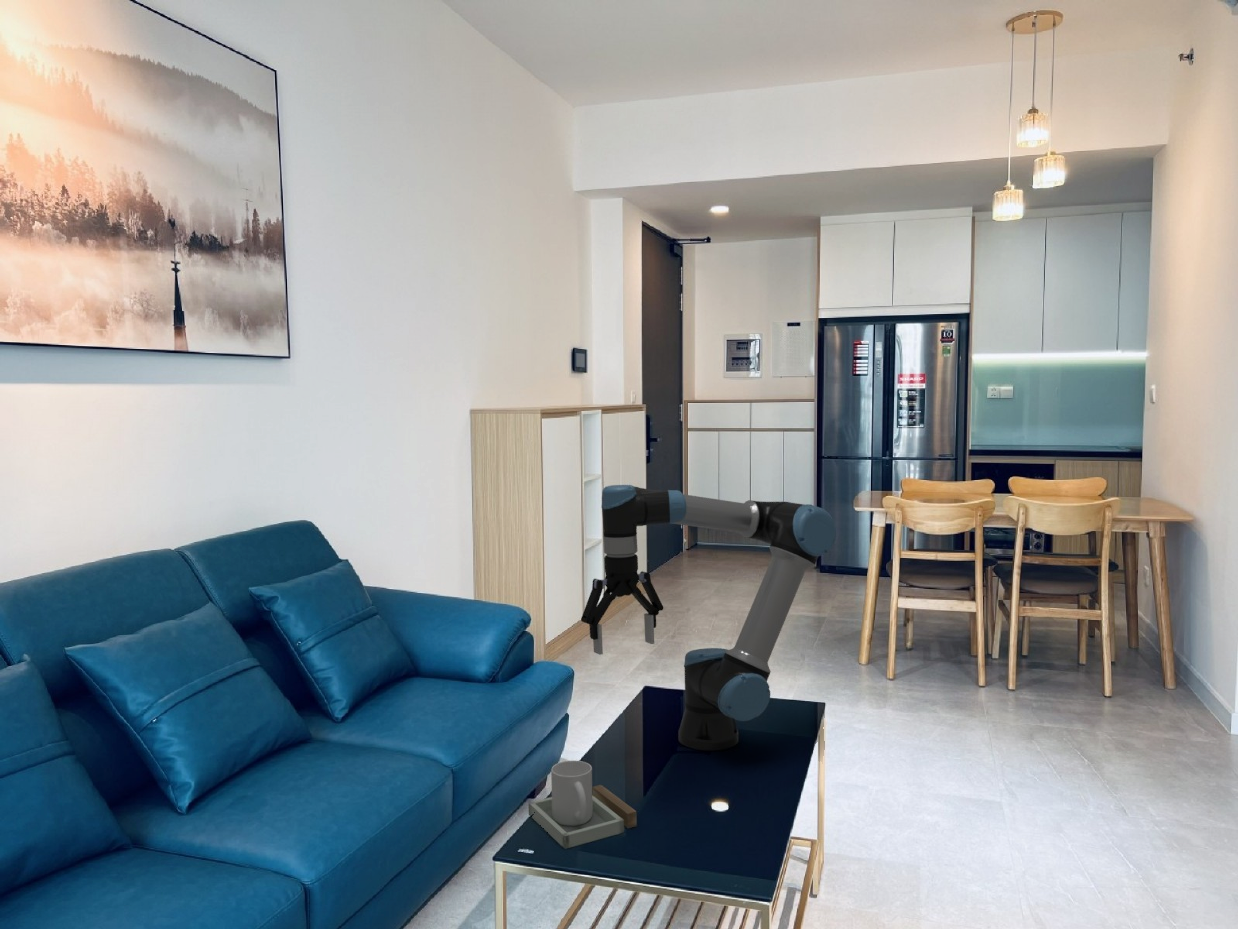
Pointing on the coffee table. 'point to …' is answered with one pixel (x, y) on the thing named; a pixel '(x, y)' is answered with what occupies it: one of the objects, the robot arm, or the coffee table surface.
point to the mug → (571, 792)
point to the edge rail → (616, 805)
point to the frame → (570, 836)
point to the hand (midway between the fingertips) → (624, 648)
